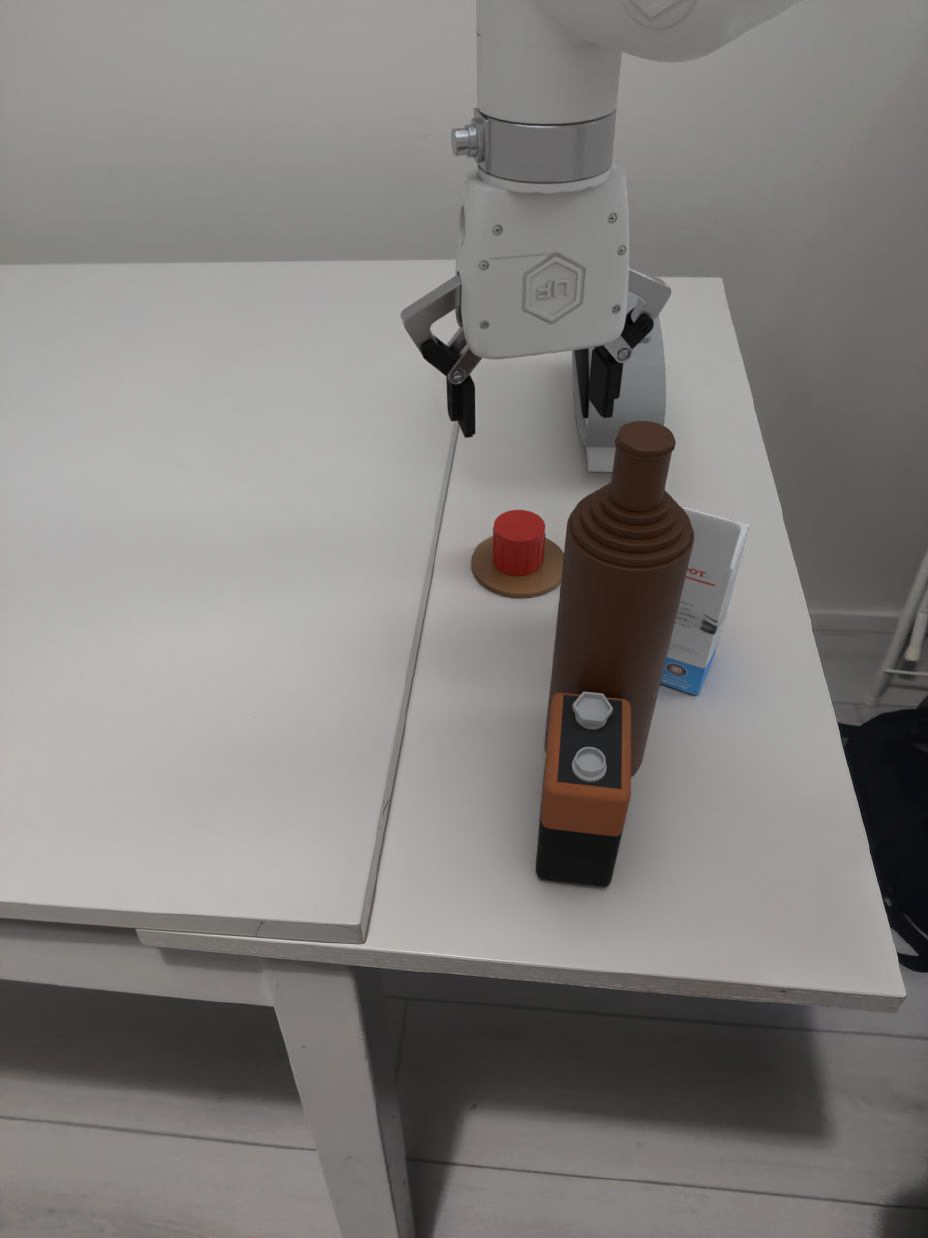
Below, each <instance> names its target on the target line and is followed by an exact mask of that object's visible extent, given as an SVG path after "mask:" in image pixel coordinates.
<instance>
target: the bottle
mask: <svg viewBox="0 0 928 1238" xmlns="http://www.w3.org/2000/svg"><path fill="white" fill-rule="evenodd" d="M614 443H615V447H616V449H615V456H614V463H613V470H612V472H611V478H610V482H608V483H606V484H605V485H603V486H602V487H600V488H599V489H596V490H595V491H593V492H591V493H589V494H588V495H586V496H584V497H583V498H582V499H581V500H580V501H579V502H577V504H576V505H575V507H574V509H572V511H571V512H570V513H569V516H568V518H567V522H566V530H565V540H564V550H563V553H564V558H563V567H562V577H561V583H560V585H559V586H560V589H559V598H558V605H557V616H556V625H555V626H556V627H555V635H554V644H553V654H552V663H551V672H550V673H551V674H550V683H549V693H548V703H547V711H546V713H547V714H546V722H545V731H544V740H543V741H544V743H543V746H544V747H543V748H544V753H545V754H546V749H547V739H548V730H549V720H550V711H551V702H552V698H553V696H554V695H555V694H556V693H570V694H580V695H581V694H582V693H583V692H592V693H601V694H604V696H605V697H609V698H619V699H625V700H627V701H628V702H629V703H630V706H631V778H632V777H633V776H634V775H635V774H636V773H638V771H639V769H640V767H641V765H642V763H643V759H644V755H645V751H646V747H647V743H648V738H649V734H650V730H651V725H652V721H653V718H654V713H655V708H656V704H657V700H658V695H659V691H660V688H661V679H662V675H663V671H664V666H665V662H666V658H667V654H668V650H669V645H670V641H671V637H672V633H673V628H674V624H675V620H676V616H677V611H678V607H679V603H680V599H681V594H682V590H683V586H684V582H685V577H686V573H687V569H688V565H689V560H690V556H691V552H692V548H693V544H694V531H693V528H692V525H691V522H690V519H689V517H688V515H687V513H686V512H685V511H684V509H683V508H682V507H681V506H682V505H680V504H679V503H678V502H677V501H676V499H674V498H673V496H672V495H671V494H669V493H668V492H667V490H666V484H667V480H668V475H669V469H670V464H671V460H672V454H673V451H675V449H676V444H677V443H676V439H675V436H674V433H673V432H672V430H670V429H669V428H668V427H666V426H665V425H664V426H663V425H661V424H658V423H655V422H649V421H635V422H630V423H627V424H624V425H623V426H621V427H620V430H619V431H618V435H617V437H616V438H615V442H614ZM679 505H680V506H679Z"/></svg>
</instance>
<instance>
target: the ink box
mask: <svg viewBox="0 0 928 1238" xmlns="http://www.w3.org/2000/svg"><path fill="white" fill-rule="evenodd" d="M679 506H681V507H682V508H683V509H684V511H685V512H686V513H687V515H688V517H689V519H690V522H691V525H692V528H693V531H694V544H693V548H692V552H691V556H690V560H689V565H688V569H687V573H686V577H685V582H684V586H683V590H682V594H681V599H680V603H679V607H678V611H677V616H676V620H675V624H674V628H673V633H672V637H671V641H670V645H669V650H668V654H667V658H666V662H665V666H664V671H663V675H662V679H661V683H660V685H665V686H666V687H670V688H673V689H675V690H679V691H682V692H684V693H687V694H690V695H693V696H698V695H700V692H701V691H702V688H703V685H704V683H705V680H706V678H707V675H708V673H709V670H710V668H711V665H712V663H713V660H714V657H715V654H716V651H717V648H718V645H719V640H720V637H721V633H722V630H723V627H724V623H725V620H726V617H727V613H728V609H729V607H730V603H731V599H732V594H733V590H734V587H735V583H736V579H737V576H738V572H739V568H740V566H741V565H740V564H741V561H742V557H743V553H744V549H745V546H746V542H747V539H748V534H749V530H750V524H748V523H744V522H741V521H738V520H734V519H730V518H726V517H722V516H719V515H715V514H711V513H709V512H704V511H702V510H701V511H700V510H697V509H693V508H691V507H686V506H683V505H680V504H679Z"/></svg>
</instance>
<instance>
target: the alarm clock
mask: <svg viewBox="0 0 928 1238" xmlns="http://www.w3.org/2000/svg"><path fill="white" fill-rule="evenodd" d="M638 299H639V295H637V294H635V293H632V292H630V291H628V300H627V311H626V314H627V313H628V312H629V311H630V310H632V309H633V308H635V307H636V305H637V304H636V303H637V301H638ZM614 310H615V309H614ZM662 332H663V331H662V326H661V320H660V315H659V316H658V317H656V318H655V320H654V327H653V329H652V330H651V332H650V333H649V334H648V335H647V336H646V337H645V338H644V339H643V340H642V341H641V342H640V343H639V344H638V345H637V346H636V347H635V348H634V349H633V350H632V356H631V358H630V359H629V360H628V361H627V362H625V363H623V372H622V380H621V389H620V396H619V398H618V399H614V408H613V416H612V417H611V418H603V417H601V416H600V415H599V413H598V412H597V410H596V409H595V407H594V406H593V404H592V403H591V401H590V400H589V398H588V390H589V379H590V368H591V356H592V350H593V349H594V347H593V348H586V349H579V350H572V351H571V364H572V365H571V369H572V370H571V371H572V385H573V386H572V388H573V389H572V390H573V403H574V414H575V421H576V422H575V423H576V428H577V432H578V433H577V434H578V437H579V440H580V442H581V445H582V446H583V447H585V451H586V460H587V469H588V472H593V473H594V472H595V473H599V472H601V473H612V470H613V463H614V456H615V449H616V447H615V443H614V442H615V438H616V437H617V435H618V431H619V430H620V427H621V426H623V425H624V424H627V423H630V422H635V421H649V422H655V423H658V424H661V425H663V426H665V418H666V404H667V403H666V402H667V401H666V400H667V384H666V383H667V382H666V381H667V380H666V379H667V377H666V376H667V375H666V359H665V349H664V339H663V333H662Z"/></svg>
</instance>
